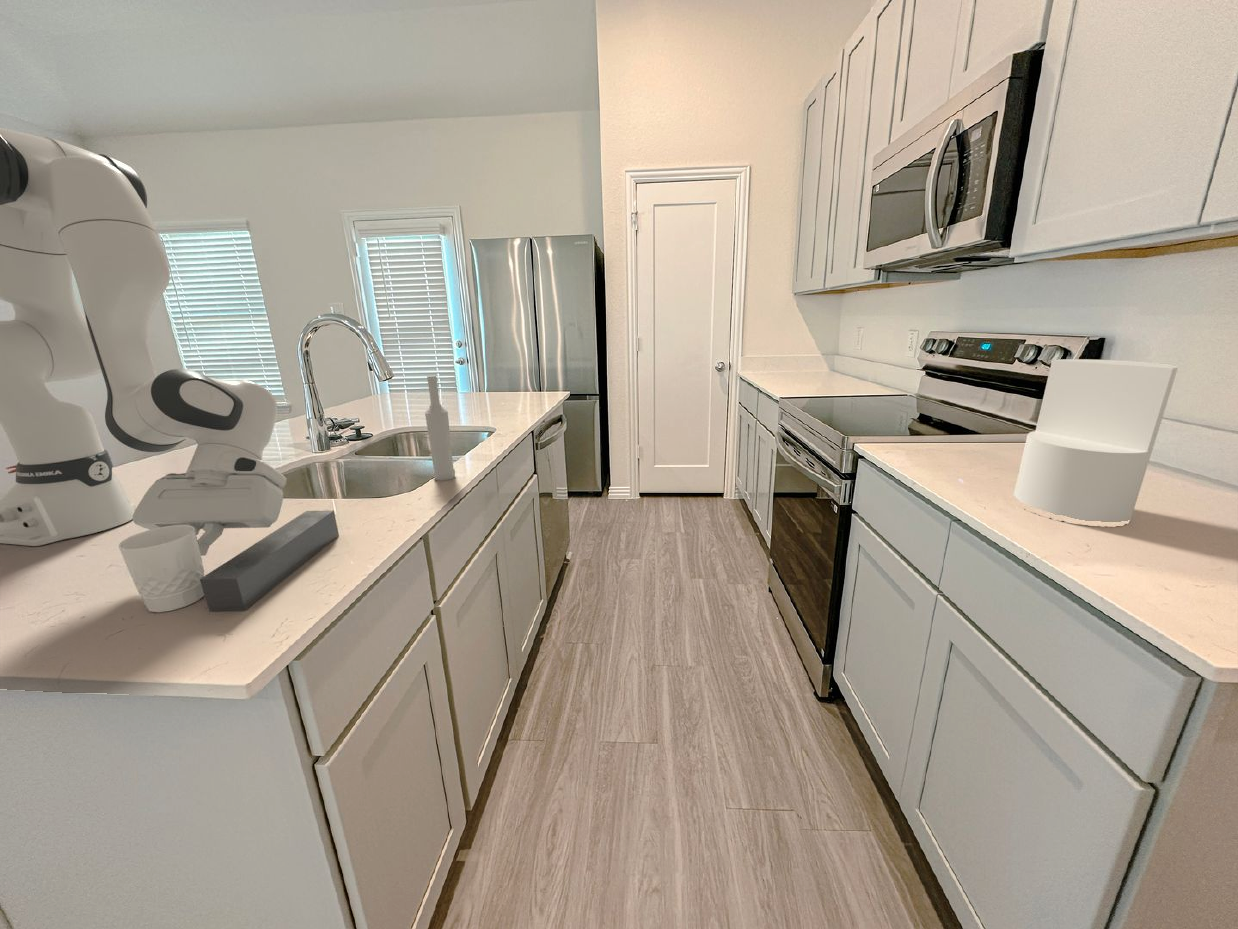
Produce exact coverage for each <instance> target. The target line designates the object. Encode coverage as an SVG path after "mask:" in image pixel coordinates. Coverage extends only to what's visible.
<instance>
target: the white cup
mask: <svg viewBox="0 0 1238 929" xmlns="http://www.w3.org/2000/svg"><path fill="white" fill-rule="evenodd" d="M197 537H198V535H196V532H195V528H194V527H193V526H190V525H173V526H166V527H161V528H156V529H152V530H149V529H147V530H144V531H142V532H139V533H136V534H133V535H131V536H130V537H127V538H125V539H123V540H121V542H120V543H119V544H118V548H119V551H120V553H121V556H122V557H123V558H122V559H123V560H124V562H125V563H124V564H125V566H126V568H127V570H128V574H130V577H131V578H132V581H133V584H134V585H135V587H136V591H137V592H138V593H139V595H140V597H141V599H142V602H143V604H144V606H145V608H146V610H147V611H148V612H150V613H151V612H152V613H165V612H172V611H174V610H178V609H179V610H180V609H182V608H185V607H187V606H190V605H192V604H194V603H197V602H198V601H200V600H201V599H202V598H203V597H204V598H205V595H204V592H203V589H202V585H201V582H200V579H201V578H202V577H204V576H205V568H204V565H203V558H202V557H203V556H201V553H200V549H199V545H198V538H197Z"/></svg>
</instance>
